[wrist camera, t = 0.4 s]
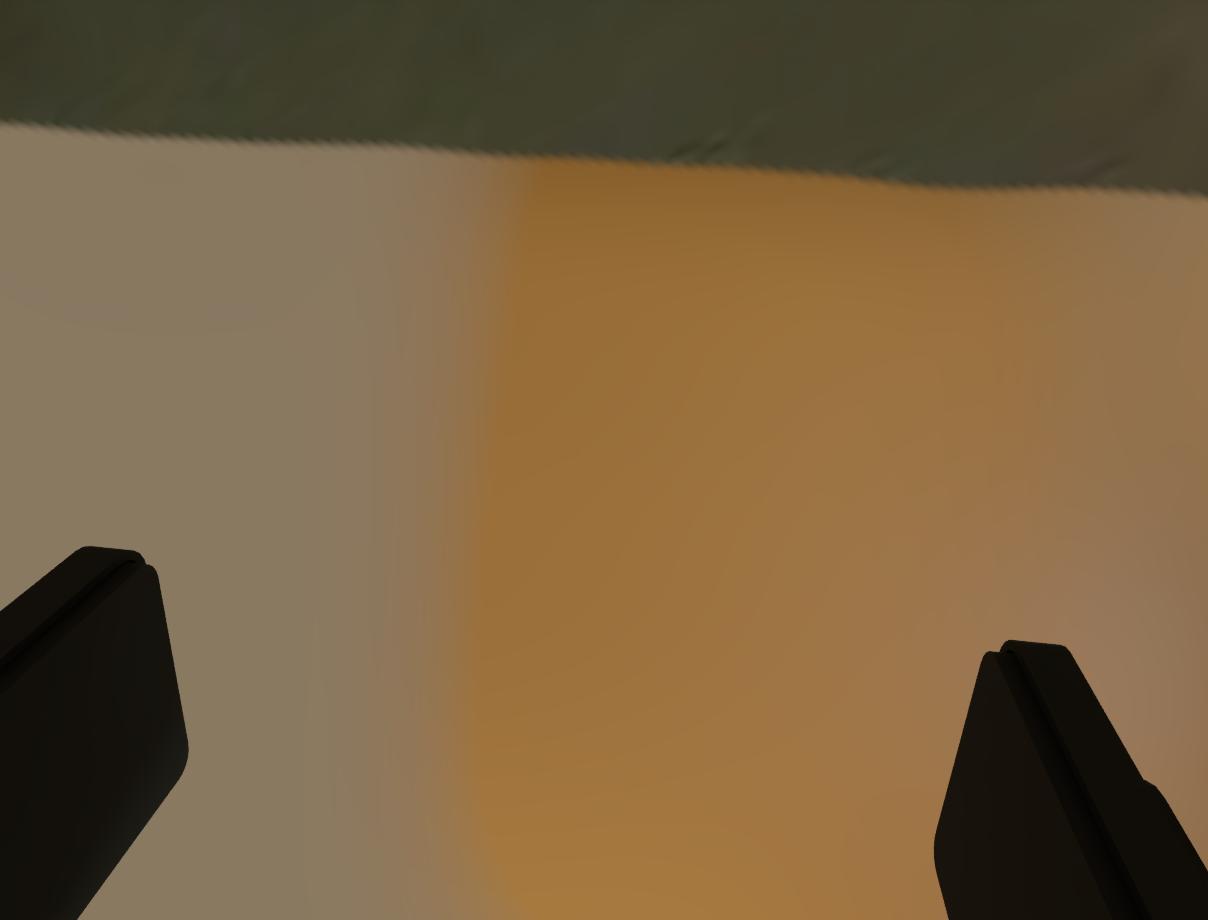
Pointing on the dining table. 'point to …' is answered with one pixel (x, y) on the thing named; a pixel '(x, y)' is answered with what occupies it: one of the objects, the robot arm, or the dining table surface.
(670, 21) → the dining table surface
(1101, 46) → the dining table surface
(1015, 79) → the dining table surface
